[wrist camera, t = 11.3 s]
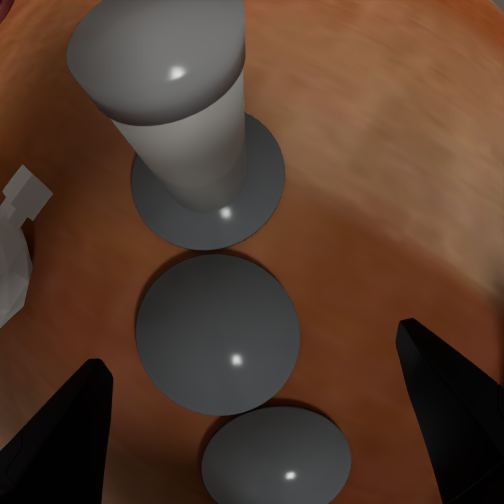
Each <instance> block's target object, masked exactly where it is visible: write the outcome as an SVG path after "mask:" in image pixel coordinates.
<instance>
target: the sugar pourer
mask: <svg viewBox="0 0 504 504" xmlns="http://www.w3.org/2000/svg"><path fill="white" fill-rule="evenodd" d="M66 60H67V65H68V68H69V71H70V72H71V74H72V75H73V76H74V78H75V79H76V80H77V82H78V83H79V84H80V86H81V87H82V88H83V89H84V91H85V92H86V93H87V95H88V96H89V97H90V98H91V100H92V101H93V102H94V104H95V105H96V106H97V107H98V109H99V110H100V111H101V112H102V113H103V114H104V115H106V116H107V117H109V118H110V119H111V120H112V122H113V123H114V124H115V126H116V127H117V128H118V130H119V131H120V132H121V133H122V135H123V136H124V137H125V139H126V140H127V141H128V142H129V144H130V145H131V146H132V147H133V149H134V150H135V151H136V153H137V154H138V155H139V156H140V158H141V159H142V160H143V161H144V163H145V164H146V165H147V167H148V168H149V169H150V170H151V172H152V173H153V174H154V175H155V177H156V178H157V179H158V180H159V182H160V183H161V184H162V185H163V187H164V188H165V189H166V190H167V192H168V193H169V194H170V195H171V197H172V198H173V199H174V200H175V201H176V202H177V203H178V204H179V205H181V206H182V207H184V208H186V209H188V210H191V211H195V212H212V211H216V210H219V209H221V208H224V207H225V206H227V205H229V204H230V203H231V202H233V201H234V200H235V199H236V198H237V196H238V195H239V194H240V192H241V191H242V189H243V187H244V184H245V181H246V175H247V169H246V142H245V114H244V86H243V66H244V63H245V12H244V3H243V0H103V1H101V2H100V3H99V4H97V5H96V6H95V7H94V8H93V9H92V10H91V11H90V12H89V13H88V14H87V15H86V16H85V17H84V18H83V19H82V20H81V22H80V23H79V24H78V26H77V27H76V29H75V30H74V32H73V34H72V36H71V38H70V41H69V43H68V47H67V53H66Z"/></svg>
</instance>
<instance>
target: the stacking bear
mask: <svg viewBox="0 0 504 504" xmlns="http://www.w3.org/2000/svg"><path fill="white" fill-rule="evenodd" d="M13 1H14V0H0V23H1V21H2V20H3V19H4V18H5V16H6V15H7V13H8V12H9V10H10V8H11V6H12V4H13Z"/></svg>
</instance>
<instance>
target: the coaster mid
mask: <svg viewBox="0 0 504 504" xmlns="http://www.w3.org/2000/svg"><path fill="white" fill-rule="evenodd" d="M136 342H137V348H138V353H139V356H140V360H141V362H142V364H143V367H144V369H145V371H146V372H147V374H148V376H149V378H150V379H151V380H152V382H153V383H154V384H155V386H156V387H157V388H158V389H159V390H160V391H161V392H162V393H163V394H164V395H165V396H167V397H168V398H169V399H171V400H172V401H173V402H175V403H177V404H178V405H180V406H182V407H184V408H187V409H189V410H191V411H194V412H198V413H201V414H207V415H218V416H224V415H234V414H238V413H243V412H246V411H248V410H251V409H254V408H256V407H258V406H260V405H261V404H263V403H264V402H266V401H267V400H269V399H270V398H271V397H273V396H274V395H275V394H276V393H277V392H278V391H279V390H280V389H281V387H282V386H283V385H284V384H285V383H286V381H287V379H288V378H289V376H290V375H291V373H292V370H293V368H294V366H295V363H296V360H297V357H298V352H299V346H300V329H299V321H298V318H297V314H296V311H295V308H294V306H293V303H292V301H291V299H290V298H289V296H288V294H287V292H286V291H285V290H284V288H283V287H282V286H281V284H280V283H279V282H278V281H277V280H276V279H275V278H274V277H273V276H272V275H271V274H269V273H268V272H267V271H265V270H264V269H263V268H261V267H259V266H258V265H256V264H254V263H252V262H250V261H247V260H245V259H242V258H238V257H235V256H229V255H222V254H210V255H202V256H197V257H193V258H189V259H187V260H185V261H182V262H180V263H178V264H176V265H174V266H173V267H171V268H170V269H168V270H167V271H166V272H164V273H163V274H162V275H161V276H160V277H159V278H158V279H157V280H156V281H155V282H154V283H153V285H152V286H151V287H150V289H149V290H148V292H147V294H146V295H145V297H144V299H143V301H142V304H141V306H140V309H139V313H138V317H137V324H136Z"/></svg>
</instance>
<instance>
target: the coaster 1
mask: <svg viewBox="0 0 504 504" xmlns="http://www.w3.org/2000/svg"><path fill="white" fill-rule="evenodd" d="M244 114H245V142H246V169H247V175H246V181H245V184H244V187H243V189H242V191H241V192H240V194H239V195H238V196H237V198H236V199H235V200H234V201H233V202H231V203H230V204H229V205H227V206H225V207H224V208H221V209H219V210H216V211H212V212H195V211H191V210H188V209H186V208H184V207H182V206H181V205H179V204H178V203H177V202H176V201H175V200H174V199H173V198H172V197H171V195H170V194H169V193H168V192H167V190H166V189H165V188H164V187H163V185H162V184H161V183H160V182H159V180H158V179H157V178H156V177H155V175H154V174H153V173H152V172H151V170H150V169H149V168H148V167H147V165H146V164H145V163H144V161H143V160H142V159H141V158H140V156H139V155H138V154H137V156H136V159H135V162H134V166H133V170H132V178H131V188H132V195H133V199H134V202H135V206H136V208H137V210H138V212H139V214H140V216H141V217H142V219H143V221H144V222H145V223H146V224H147V226H148V227H149V228H150V229H151V230H152V231H153V232H155V233H156V234H157V235H158V236H160V237H161V238H163V239H164V240H166V241H168V242H169V243H172V244H174V245H176V246H178V247H182V248H186V249H190V250H197V251H211V250H219V249H223V248H227V247H230V246H233V245H235V244H238V243H240V242H242V241H244V240H245V239H247V238H249V237H250V236H252V235H253V234H254V233H256V232H257V231H258V230H259V229H260V228H261V227H262V226H263V225H264V224H265V223H266V222H267V221H268V220H269V218H270V217H271V216H272V214H273V212H274V211H275V209H276V207H277V205H278V203H279V200H280V198H281V195H282V191H283V187H284V180H285V166H284V160H283V156H282V153H281V150H280V147H279V145H278V143H277V141H276V140H275V138H274V137H273V135H272V134H271V132H270V131H269V130H268V129H267V128H266V127H265V126H264V125H263V124H262V123H261V122H259V121H258V120H257V119H255V118H254V117H252V116H250V115H248V114H246V113H244Z"/></svg>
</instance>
